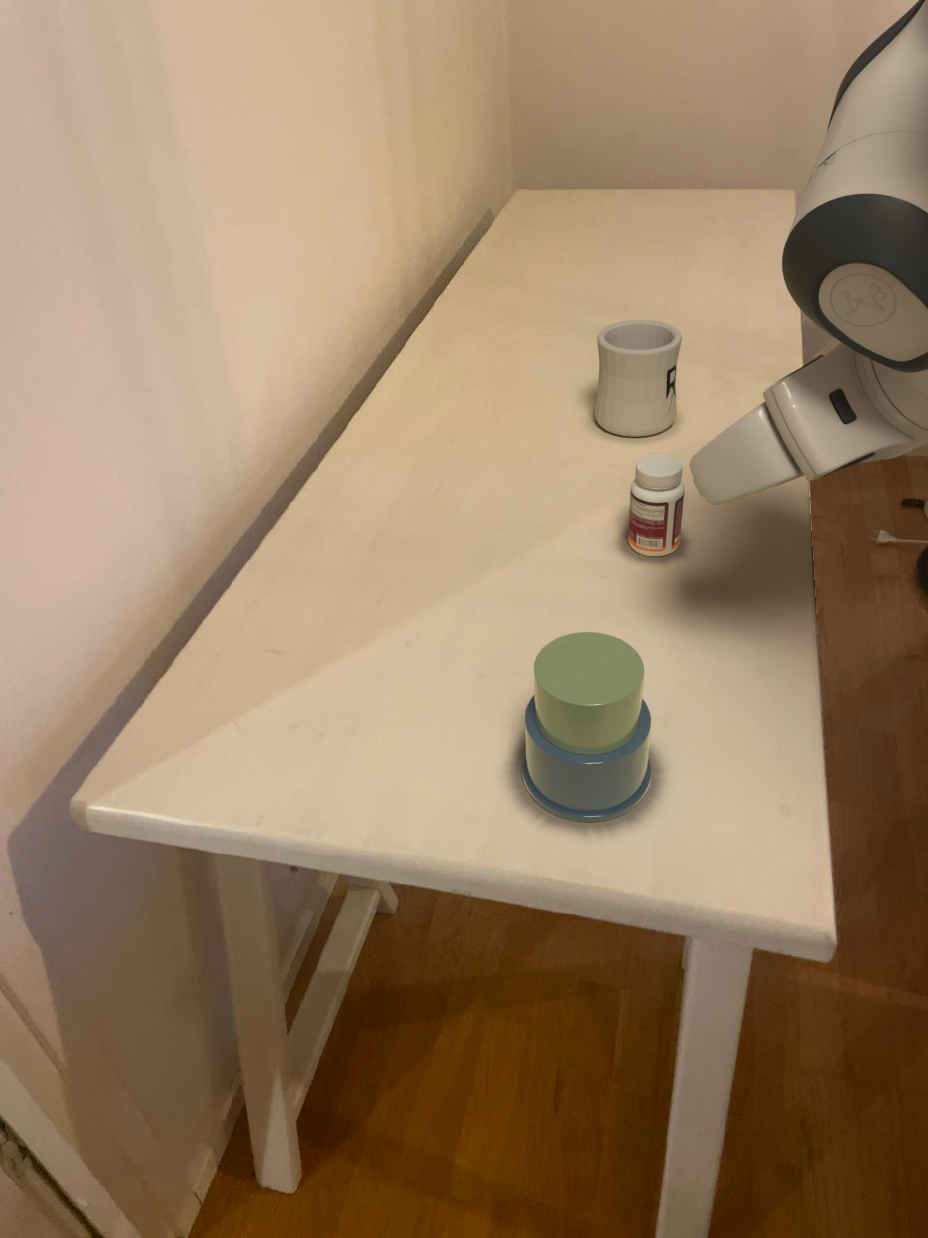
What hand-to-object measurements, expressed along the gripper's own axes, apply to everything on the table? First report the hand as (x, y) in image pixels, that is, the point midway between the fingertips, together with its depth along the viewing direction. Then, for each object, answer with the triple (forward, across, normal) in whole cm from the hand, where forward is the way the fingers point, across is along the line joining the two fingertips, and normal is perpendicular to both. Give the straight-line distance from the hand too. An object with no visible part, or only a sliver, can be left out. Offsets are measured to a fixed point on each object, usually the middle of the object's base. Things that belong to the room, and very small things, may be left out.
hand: (745, 463), depth 72 cm
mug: (+30, -18, -12) cm, 37 cm away
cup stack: (+4, +22, +14) cm, 27 cm away
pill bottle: (+16, -1, +2) cm, 16 cm away
